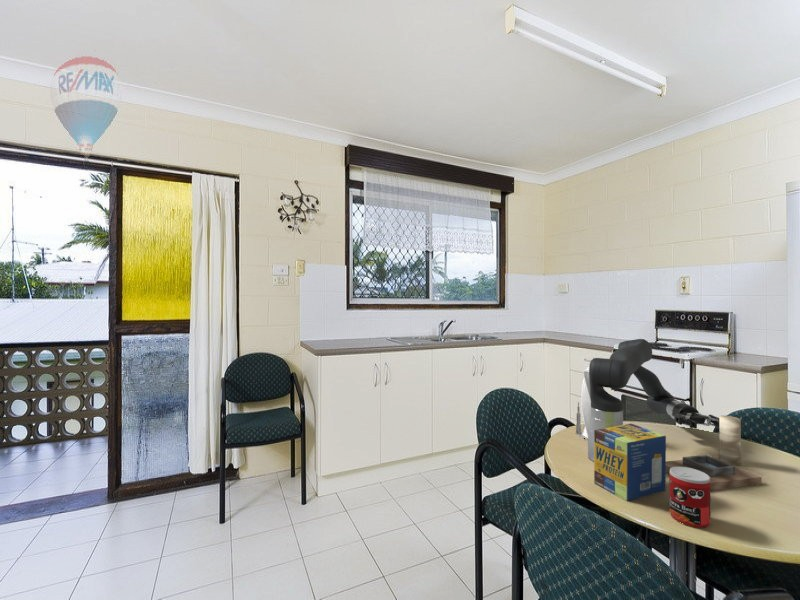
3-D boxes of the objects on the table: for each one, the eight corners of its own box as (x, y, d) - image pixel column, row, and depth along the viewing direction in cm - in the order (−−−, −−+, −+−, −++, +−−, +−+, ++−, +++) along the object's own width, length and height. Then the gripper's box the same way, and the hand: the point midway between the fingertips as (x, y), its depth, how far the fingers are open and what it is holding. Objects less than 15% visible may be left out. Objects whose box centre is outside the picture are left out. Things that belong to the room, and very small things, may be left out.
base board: (703, 491, 103) (703, 475, 103) (659, 468, 117) (659, 455, 117) (761, 484, 107) (761, 469, 107) (712, 462, 121) (712, 449, 121)
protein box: (593, 483, 108) (593, 429, 108) (631, 474, 113) (631, 423, 113) (627, 502, 98) (626, 442, 98) (667, 491, 104) (667, 434, 103)
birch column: (731, 465, 119) (731, 421, 119) (715, 458, 124) (715, 416, 124) (745, 463, 120) (745, 420, 120) (728, 457, 125) (728, 415, 125)
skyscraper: (595, 433, 148) (595, 362, 148) (608, 441, 140) (608, 366, 140) (575, 433, 148) (574, 362, 148) (586, 441, 140) (586, 366, 140)
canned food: (662, 514, 92) (662, 469, 92) (682, 507, 95) (682, 463, 95) (697, 532, 85) (697, 483, 85) (717, 523, 88) (717, 477, 88)
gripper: (662, 402, 149) (686, 414, 133) (702, 403, 147) (732, 416, 131) (662, 421, 149) (686, 435, 133) (702, 422, 147) (732, 438, 131)
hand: (709, 426), depth 132 cm, fingers open, 8 cm apart
